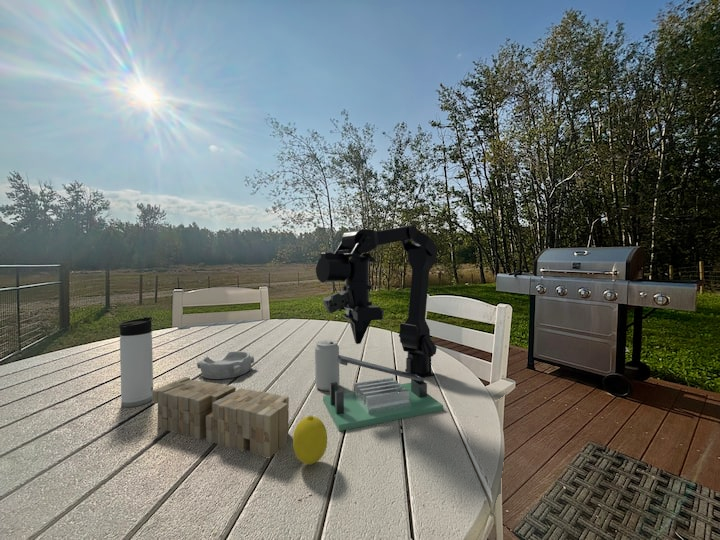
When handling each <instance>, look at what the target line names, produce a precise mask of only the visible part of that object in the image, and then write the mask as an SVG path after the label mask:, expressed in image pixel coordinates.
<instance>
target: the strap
mask: <svg viewBox="0 0 720 540" xmlns="http://www.w3.org/2000/svg"><path fill="white" fill-rule="evenodd" d="M337 361H338V362H339V365H343V366H348V364H350V365H354V366H358V367H363V368H365V369H371V370H374V371H377V372H382V373H386V374H390V375H395V376H398V377H402V378H406V379H410V380H411V379H413V380H417V381H420V382H421V383H422V382H425V379H424V378H423V377H420V376H418V375H417V374H415V375H414V374H410V373H407V372H406V371H402V370H398V369H395V368H390V367H386V366H383V365H379V364H375V363H371V362H368V361H364V360H361V359H356V358H353V357H348V356H345V355H341V354H339V355H338V357H337Z"/></svg>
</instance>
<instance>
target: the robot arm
mask: <svg viewBox="0 0 720 540" xmlns="http://www.w3.org/2000/svg"><path fill="white" fill-rule="evenodd" d="M396 242H401V246H402V249H403V251H405V252H406V253H407V262H408V263H409V264H408V265H410V266H409V267H410V268H411V280H410V291H409V303H408V304H409V305H408V314H407V318H406V320H405V322H404V323H403V322H401V323H400V324H399V334H398V337H399V343H400V344H401V347H402V349H403V352H406V353H407V357H406V359H405V362H406V365H405V367H406V368H405V370H404V372H406V373H410V374H414V375H415V374H417V375H418V376H420V377H421V378H423V377H424V378H425V377H431V376H435V373H434V371H432V357H434V356H435V355H436V353H437V346H436V344H435V343H434V342H433V341H432V339H431V333H430V331H431V330H430V327H429V325H428V322H427V321H426V315H427V314H426V313H427V302H428V301H427V300H428V291H429V290H428V288H429V276H430V271H431V269H432V268H433V267H434V265H435V263H436V262H437V261H436V259H437V256H438V246H437V245H436V243H435V242H434V241H433V239H431V237H430V236H428V235H426V234H424V233H423V232H421V231H419V229H418V228H417V227H416V226H415V225H413V224H412V225H411V224H409V225H404V226H403V225H401V226H399V227H395V228H389V229H383V230H375V229H371V228H370V229H367V228H362V229H356V230H355V229H354V230H348V231H345V232H344V233H343V235H342V237H341V241H340V242H339V244H338V247H337V248H336V249H335V251H334V252H333V253H332V252H320V258H319V259H318V261H317V264H316V266H315V274H316V278H317V279H318V281H319V282H320V283H336V282H337V283H338V282H345V284H343V285H342V290H341V291H338V292H336V293H333V294H331V295H329V296H327V297H324V298H322V303H323V305H324V307H325V308H324V309H325V310H326V312H328V313H329V314H332V313H335V312H337V311H338V312H342V310H345V313H343V314H342V316H343V317H344V318H345V319H346V320H347V321H348V322H349V324H350V328H351V331H352V336H353V339H354V343H355V344H356V345H360V344H361V343H362V341H363V338H364V337H365V334H366V332H367V330H368V328H369V326H370V324H371V322H372V321H379V320H380V321H381V320H384V310H383V309H382V308H381V307H380V306H377V305H373V301H371V300H370V290H372V288H373V287H372V286H373V285H372V284H370V276H369V275H370V273H369V272H370V267H369V265H370V263H376V258H375V257H374V256H372V255H371V253H369V252H371V251H373V250H376V249H377V248H378V247H380V246H381V245H386V244H391V243H392V244H393V243H396Z"/></svg>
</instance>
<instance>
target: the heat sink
mask: <svg viewBox="0 0 720 540" xmlns="http://www.w3.org/2000/svg"><path fill="white" fill-rule="evenodd" d="M410 383H411V392H413V393H414V394H415V395H416V396H418V397H419V398H422V397H427V394H428V383H427V382H425V381H424V382H422V383H421V382H420V381H417V380H413V379H410ZM401 384H402V383H400V382H398V380H396V379H394V378H393V376H392V377H386V378H385V377H384V378H378V379H372V380H366V381H365V380H364V381H357V382H354V383H353V387H354V388H353V391H352V392H353V395H354V396H355V398H356V399H357V400H358V402H359V403H360V404H361V405H362V407H363V408H364V409H365V410H366V412H367V413H368V414H372V413H377V412H383V411H388V410H393V409H399V408H404V407H410V406H411V402H410V401H409V390H405V387H404V386H402V387H401ZM344 393H345V392H344V390H343V389H339V386H338V383H337V382H334V383H330V391H329V395H330V404H331V405H335V413H336V414H343V413H344Z"/></svg>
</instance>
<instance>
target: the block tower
mask: <svg viewBox="0 0 720 540" xmlns="http://www.w3.org/2000/svg"><path fill="white" fill-rule="evenodd" d="M151 401H152V403H155V404H157V423H156V424H157V425H156V426H157V428H158V429H162V431H166V432H167V431H168V432H171V433H176V434H180V435H184V436H187V437H192V438H194V439H196V440H201V439H202V438H205V439H206V440H205V441H206V442H209V443H214V444H218V445H220V446H223V445H224V446H225V447H228V448H229V447H230V448H231V449H234V448H235V450H237V449H238V450H237V451H240V450H243V451H245V450H246V449H247V448H249V453H250V454H252V453H254V454H253V455H256V454H258V455H257V456H259V455H263V456H265V457H271V456H272V455H273V454H274V455H275V454H276V453H278V452H279V450H281V449H282V448H283V447H284V446H285V445H286V444H287V443H288V435H289V433H290V432H289V431H290V430H289V428H290V427H289V426H290V424H289V423H290V422H289V417H290V415H289V413H290V412H289V409H290V408H289V407H290V406H289V403H290V402H289V401H290V397H289V396H287V395H279V394H276V393H270V392H266V391H265V392H264V391H260V390H252V389H249V388H242V387H241V388H239V389H237V390H236V386H233V385H230V386H229V385H227V384H221V383H219V382H218V383H217V382H208V381H202V380H197V379H195V380H194V379H191V378H190V377H189V376H184V377H181V378H179V379H178V380H177V379H176V380H174V381H171V382H170V383H167V384H164V385H163V386H160V387H157V388H155V389H153V391H152V400H151ZM283 445H284V446H283ZM248 446H249V447H248ZM280 448H281V449H280ZM244 449H245V450H244ZM278 449H279V450H278ZM277 451H278V452H277ZM274 455H273V456H274ZM263 456H262V457H263ZM273 456H272V457H273ZM265 457H264V458H265ZM272 457H271V458H272Z"/></svg>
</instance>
